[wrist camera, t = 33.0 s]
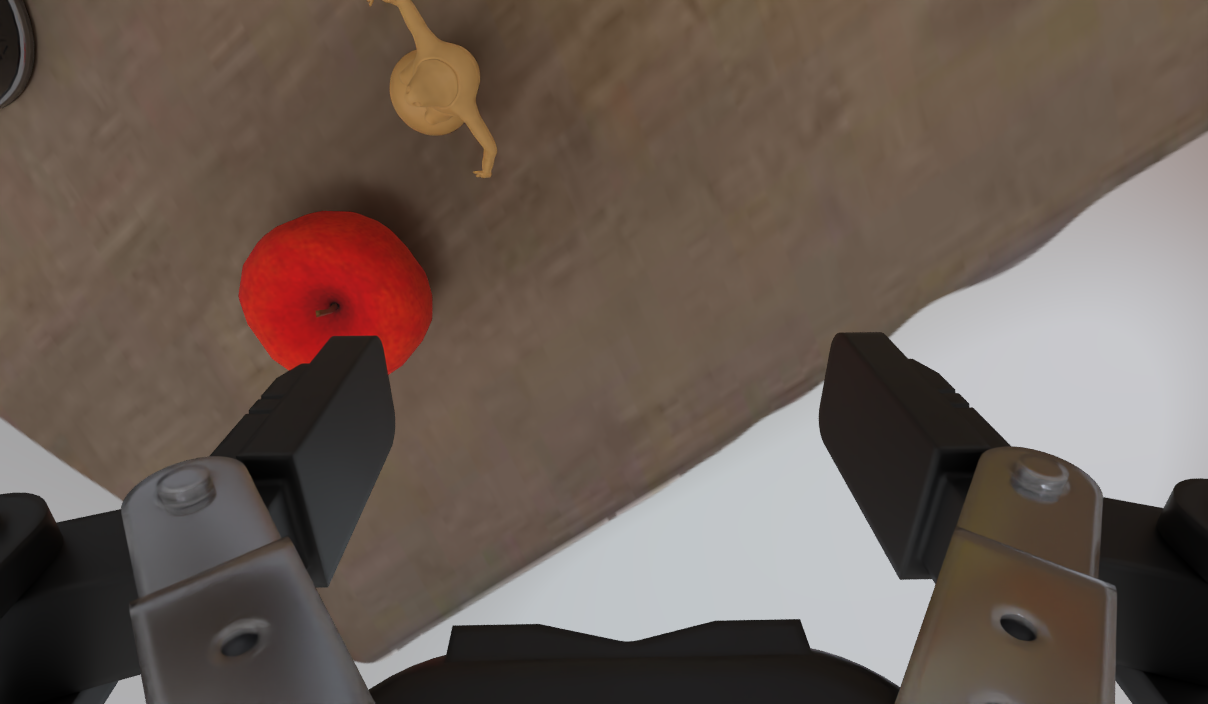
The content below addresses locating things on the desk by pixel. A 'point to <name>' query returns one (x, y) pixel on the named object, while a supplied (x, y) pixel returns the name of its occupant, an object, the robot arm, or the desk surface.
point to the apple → (334, 288)
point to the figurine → (438, 86)
